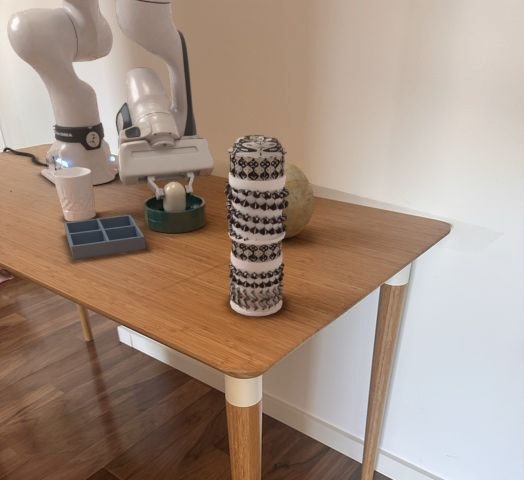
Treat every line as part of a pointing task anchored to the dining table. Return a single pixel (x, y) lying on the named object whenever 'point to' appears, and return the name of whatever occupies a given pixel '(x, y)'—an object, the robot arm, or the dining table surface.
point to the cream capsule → (174, 197)
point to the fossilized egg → (297, 200)
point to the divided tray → (104, 236)
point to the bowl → (175, 215)
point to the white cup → (75, 193)
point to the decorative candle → (256, 224)
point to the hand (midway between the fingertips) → (175, 196)
